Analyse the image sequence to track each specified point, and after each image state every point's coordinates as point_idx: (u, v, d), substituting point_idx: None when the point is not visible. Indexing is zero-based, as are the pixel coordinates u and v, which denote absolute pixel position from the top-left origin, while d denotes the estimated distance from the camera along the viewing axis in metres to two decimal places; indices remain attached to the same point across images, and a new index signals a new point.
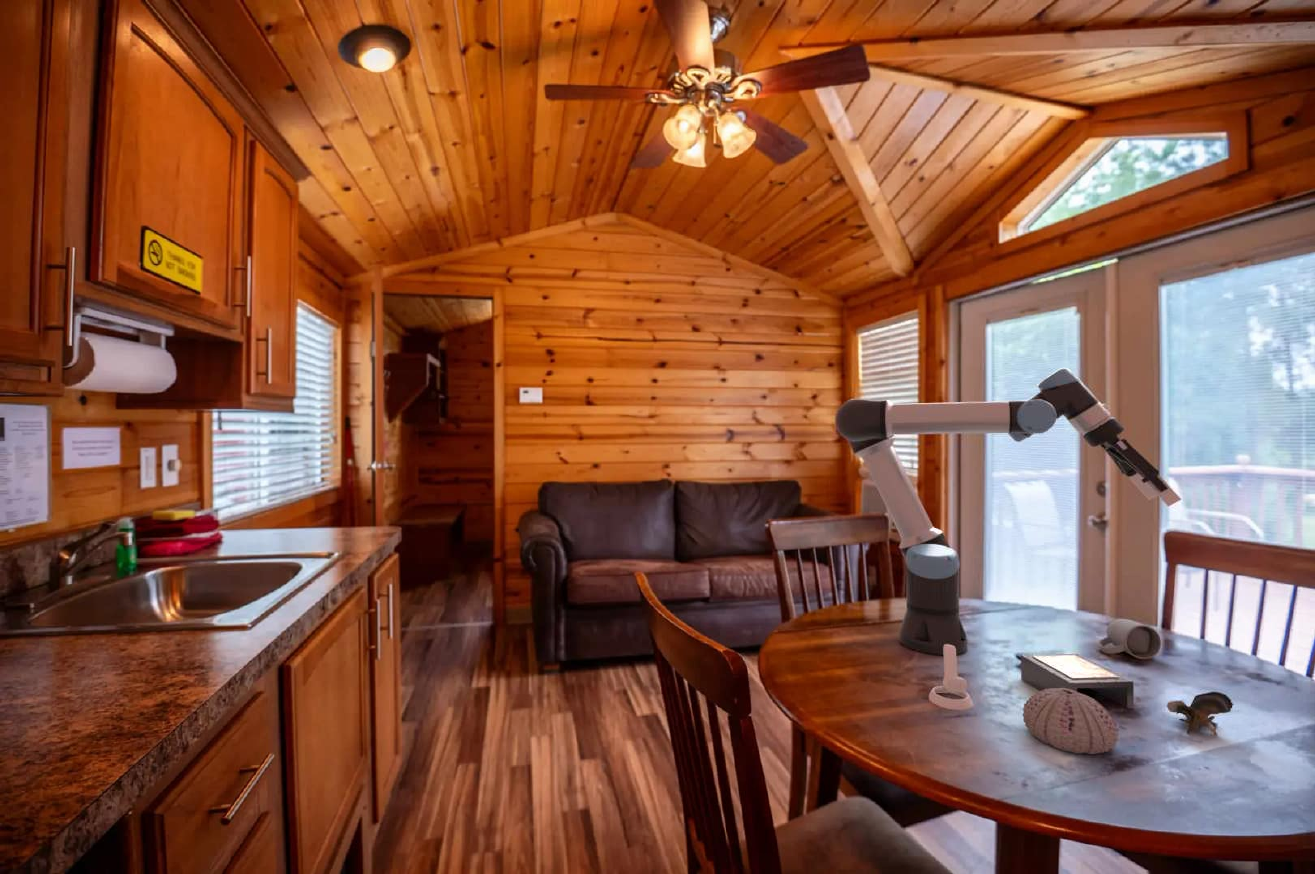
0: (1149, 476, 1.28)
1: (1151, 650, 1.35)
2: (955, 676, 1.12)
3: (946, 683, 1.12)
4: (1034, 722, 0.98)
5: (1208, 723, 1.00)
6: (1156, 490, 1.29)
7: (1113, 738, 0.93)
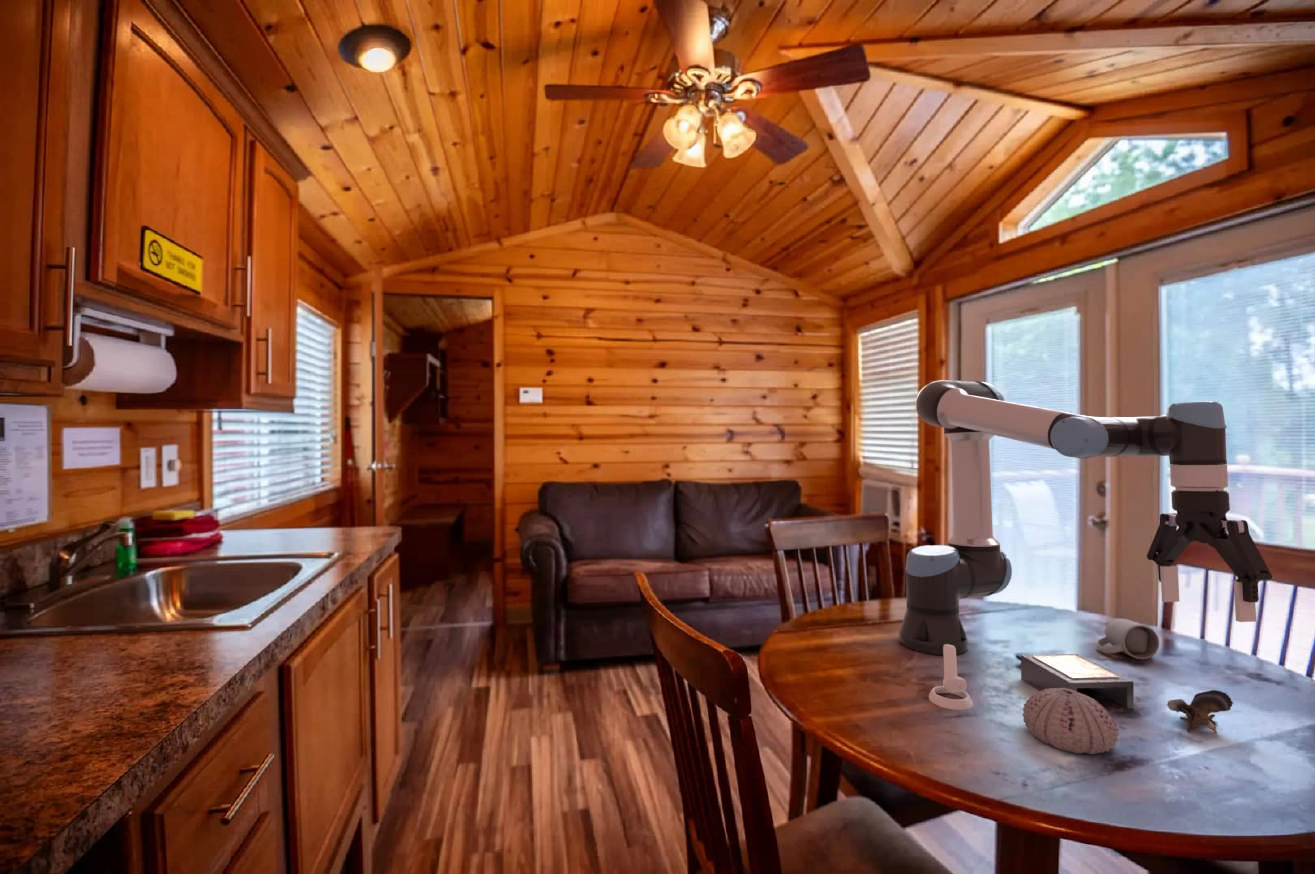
0: (1260, 578, 0.93)
1: (1149, 650, 1.35)
2: (955, 676, 1.12)
3: (946, 683, 1.12)
4: (1034, 722, 0.98)
5: (1208, 722, 1.01)
6: (1241, 597, 0.96)
7: (1113, 738, 0.93)
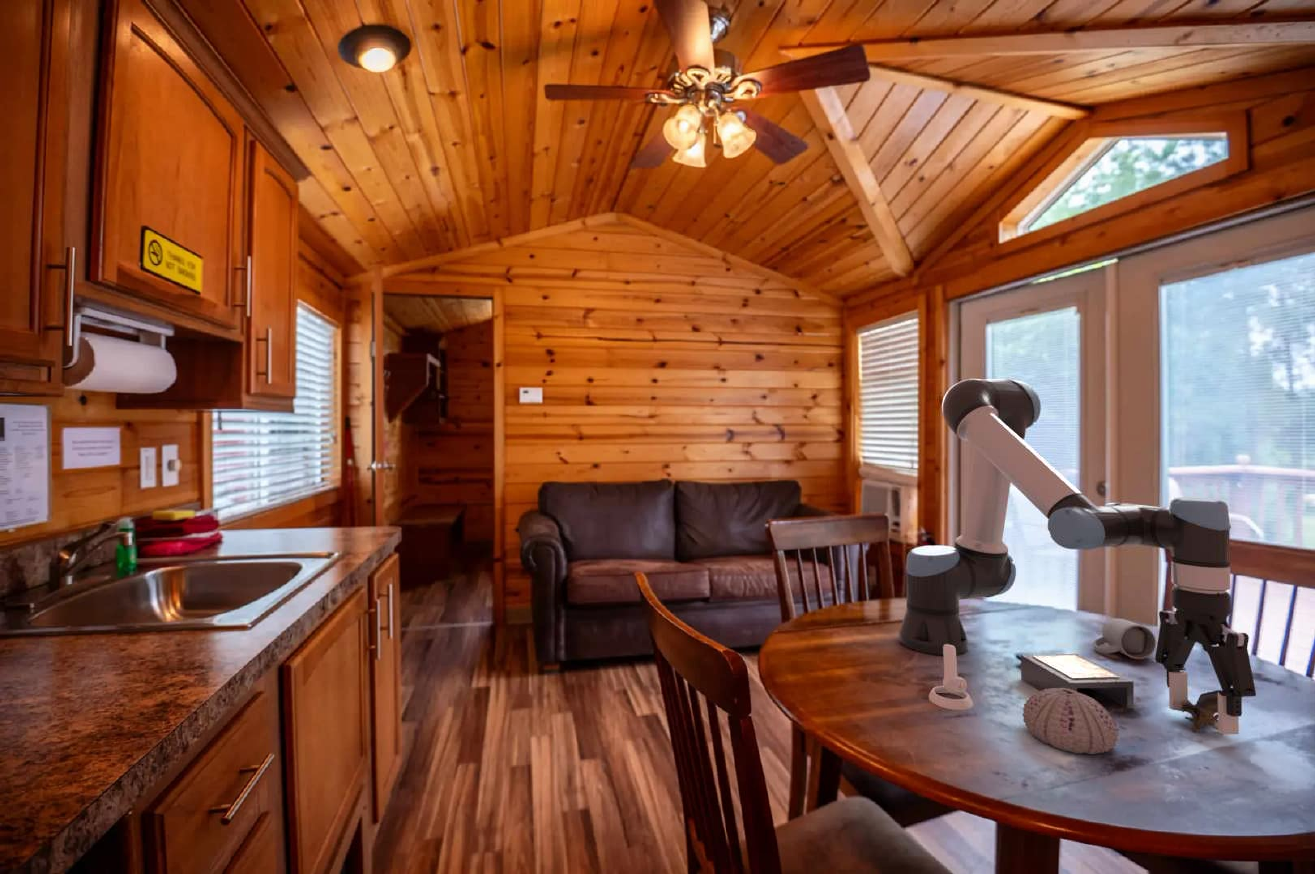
0: (1244, 695, 0.94)
1: (1146, 650, 1.35)
2: (955, 676, 1.12)
3: (946, 683, 1.12)
4: (1034, 722, 0.98)
5: (1214, 722, 1.01)
6: (1224, 710, 0.97)
7: (1113, 738, 0.93)
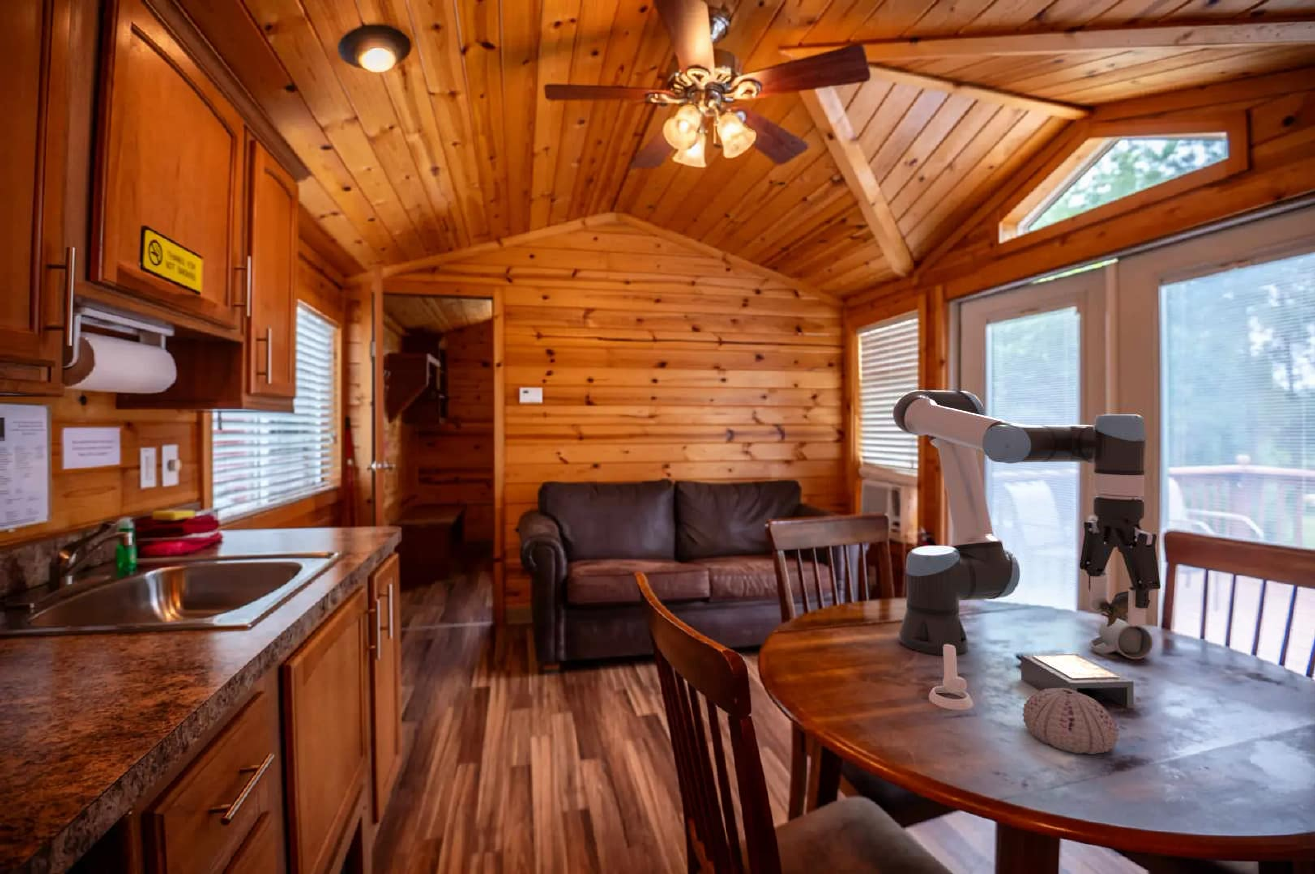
0: (1149, 587, 1.03)
1: (1142, 650, 1.35)
2: (955, 676, 1.12)
3: (946, 683, 1.12)
4: (1034, 722, 0.98)
5: (1126, 617, 1.10)
6: (1133, 603, 1.06)
7: (1113, 738, 0.93)
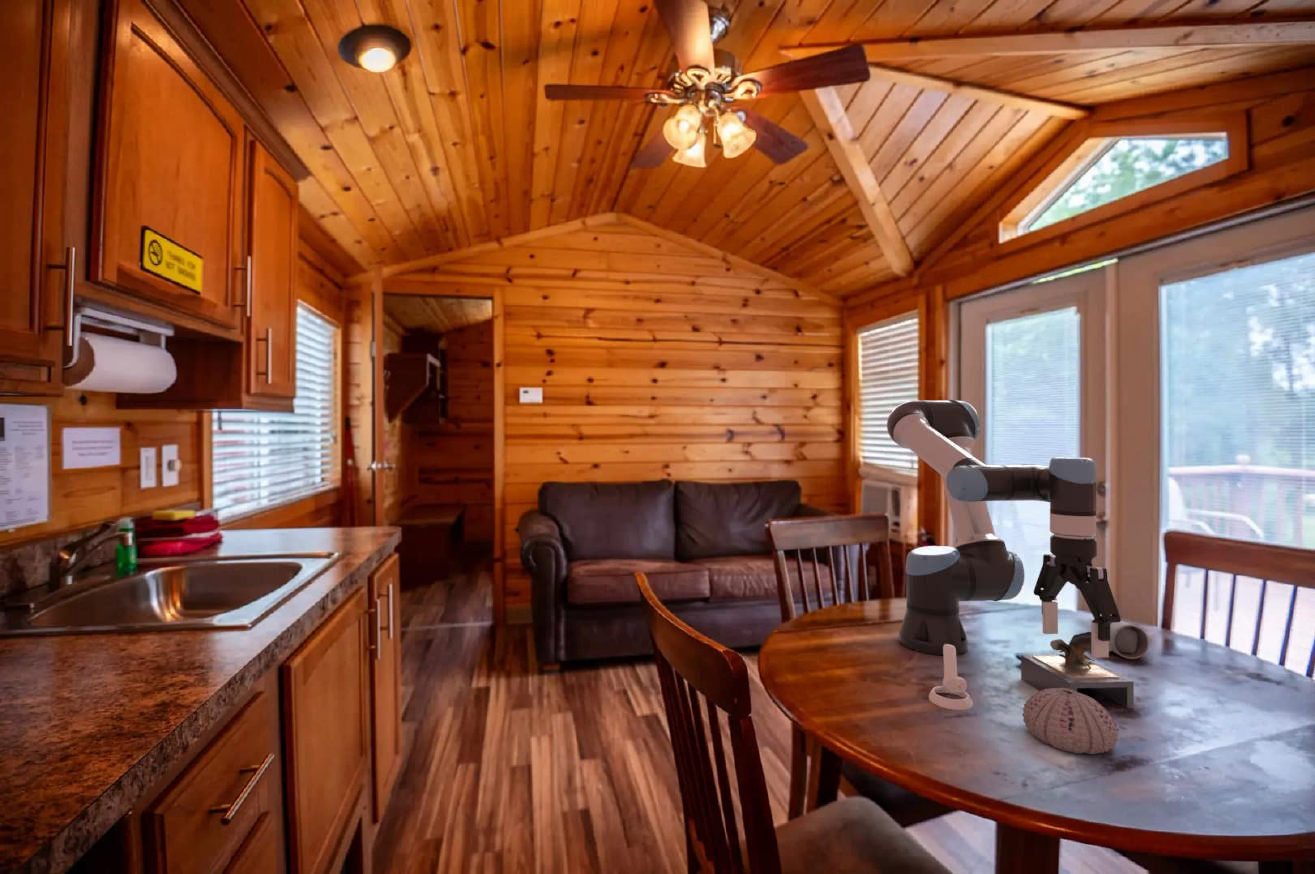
0: (1110, 620, 1.06)
1: (1139, 650, 1.35)
2: (955, 676, 1.12)
3: (946, 683, 1.12)
4: (1034, 722, 0.98)
5: (1083, 658, 1.15)
6: (1096, 636, 1.09)
7: (1113, 738, 0.93)
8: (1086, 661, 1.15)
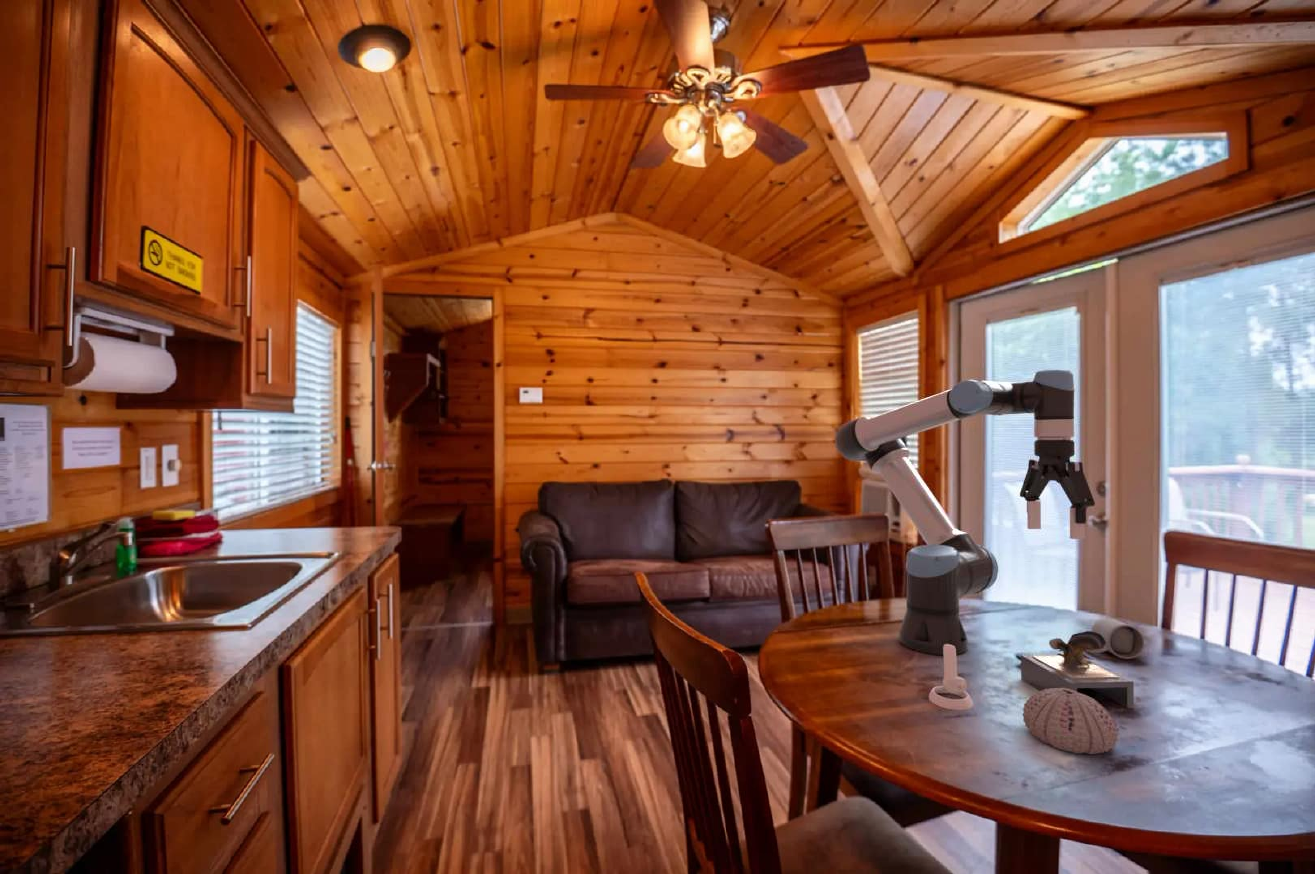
0: (1085, 504, 1.22)
1: (1134, 649, 1.35)
2: (955, 676, 1.12)
3: (946, 683, 1.12)
4: (1034, 722, 0.98)
5: (1082, 657, 1.16)
6: (1073, 520, 1.25)
7: (1113, 738, 0.93)
8: (1085, 660, 1.16)
